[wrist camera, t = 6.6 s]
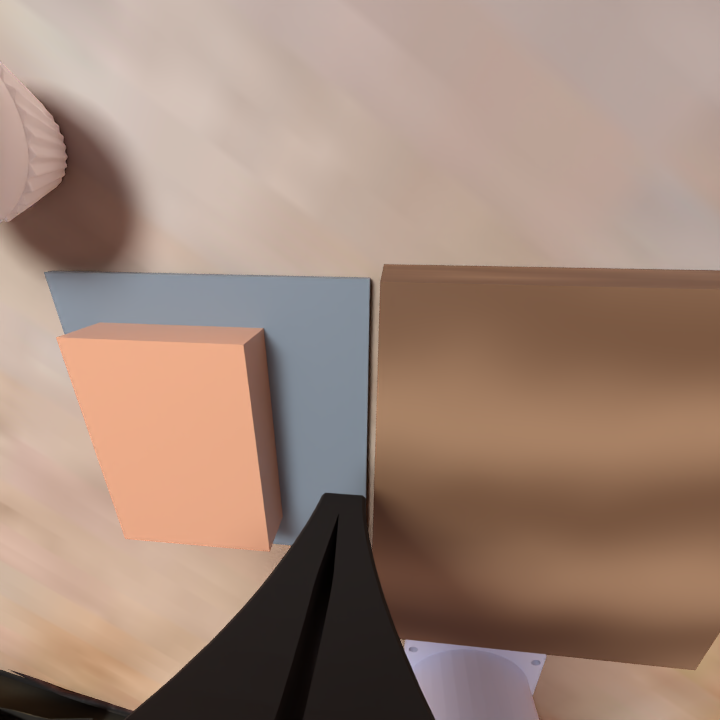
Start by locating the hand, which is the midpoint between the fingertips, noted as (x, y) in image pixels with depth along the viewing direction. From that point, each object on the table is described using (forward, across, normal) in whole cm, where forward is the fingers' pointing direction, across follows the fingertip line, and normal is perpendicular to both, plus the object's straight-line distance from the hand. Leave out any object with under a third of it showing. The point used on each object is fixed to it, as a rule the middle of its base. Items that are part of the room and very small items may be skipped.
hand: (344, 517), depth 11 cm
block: (+2, +7, 0) cm, 8 cm away
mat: (+5, +6, 0) cm, 8 cm away
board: (+5, -7, 0) cm, 9 cm away
